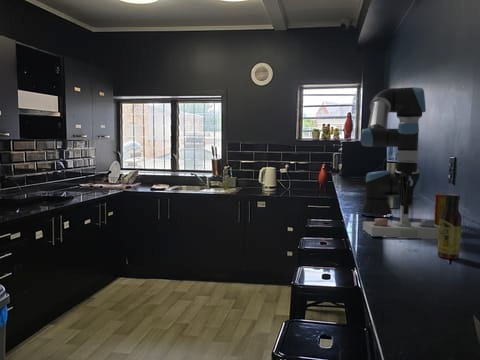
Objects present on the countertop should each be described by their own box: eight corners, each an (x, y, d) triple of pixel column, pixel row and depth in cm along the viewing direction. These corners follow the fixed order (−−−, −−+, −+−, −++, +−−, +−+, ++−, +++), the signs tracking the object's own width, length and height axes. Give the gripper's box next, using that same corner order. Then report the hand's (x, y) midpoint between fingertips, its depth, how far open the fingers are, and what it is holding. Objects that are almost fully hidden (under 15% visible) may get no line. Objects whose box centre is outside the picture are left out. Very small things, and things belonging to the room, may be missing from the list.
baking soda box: (451, 233, 179) (453, 194, 178) (434, 232, 181) (436, 194, 180) (449, 230, 187) (451, 192, 186) (433, 229, 190) (434, 192, 189)
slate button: (418, 226, 175) (418, 219, 174) (431, 226, 174) (431, 219, 174) (423, 228, 170) (423, 221, 169) (436, 229, 169) (436, 221, 169)
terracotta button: (372, 225, 175) (373, 217, 175) (385, 225, 175) (385, 218, 175) (376, 227, 170) (376, 219, 170) (389, 227, 170) (389, 220, 170)
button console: (362, 231, 181) (362, 221, 181) (431, 232, 180) (431, 223, 180) (371, 237, 167) (372, 227, 167) (446, 239, 166) (447, 229, 166)
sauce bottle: (433, 255, 140) (436, 193, 139) (451, 255, 141) (455, 193, 139) (444, 260, 133) (447, 195, 132) (464, 260, 134) (467, 195, 133)
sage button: (395, 228, 175) (395, 221, 175) (408, 229, 175) (408, 221, 175) (399, 231, 170) (399, 223, 170) (412, 231, 170) (413, 223, 170)
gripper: (391, 161, 177) (389, 219, 179) (402, 162, 164) (400, 224, 166) (410, 161, 177) (408, 219, 178) (423, 162, 164) (420, 225, 165)
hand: (404, 222), depth 172 cm, fingers closed
